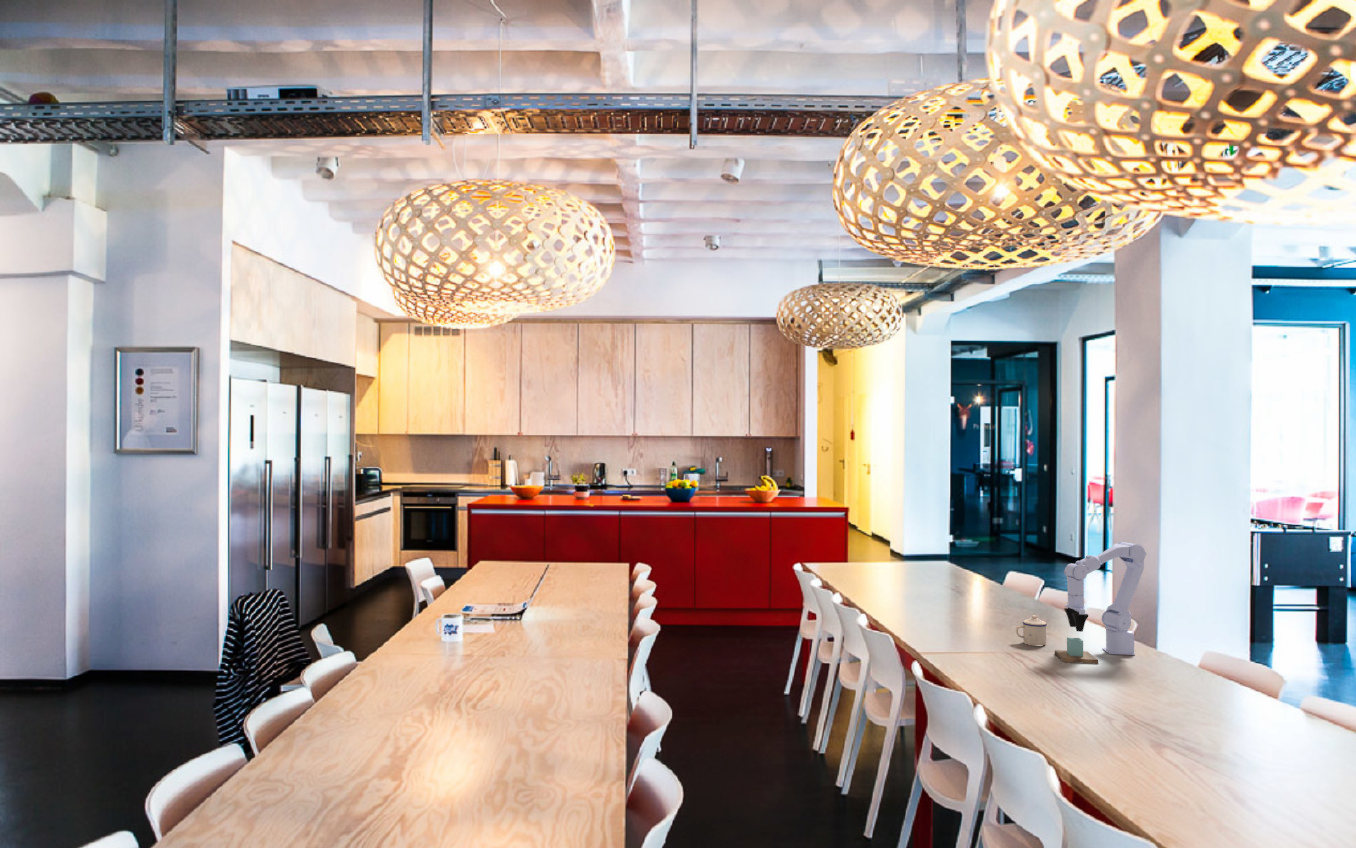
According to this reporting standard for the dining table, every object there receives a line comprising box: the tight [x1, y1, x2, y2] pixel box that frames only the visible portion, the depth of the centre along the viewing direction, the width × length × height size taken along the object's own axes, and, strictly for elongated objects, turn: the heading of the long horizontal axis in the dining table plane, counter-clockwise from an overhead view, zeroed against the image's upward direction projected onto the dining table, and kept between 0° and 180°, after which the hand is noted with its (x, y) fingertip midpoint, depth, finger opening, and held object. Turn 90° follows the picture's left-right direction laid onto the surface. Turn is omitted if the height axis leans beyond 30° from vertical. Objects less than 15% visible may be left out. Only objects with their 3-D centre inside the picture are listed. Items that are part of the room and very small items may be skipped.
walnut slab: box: [1054, 649, 1099, 664], centre depth 302 cm, size 12×12×2 cm
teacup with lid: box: [1015, 614, 1047, 646], centre depth 325 cm, size 12×9×12 cm
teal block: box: [1066, 637, 1084, 657], centre depth 303 cm, size 4×4×6 cm
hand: (1076, 629), depth 310 cm, fingers open, 7 cm apart
